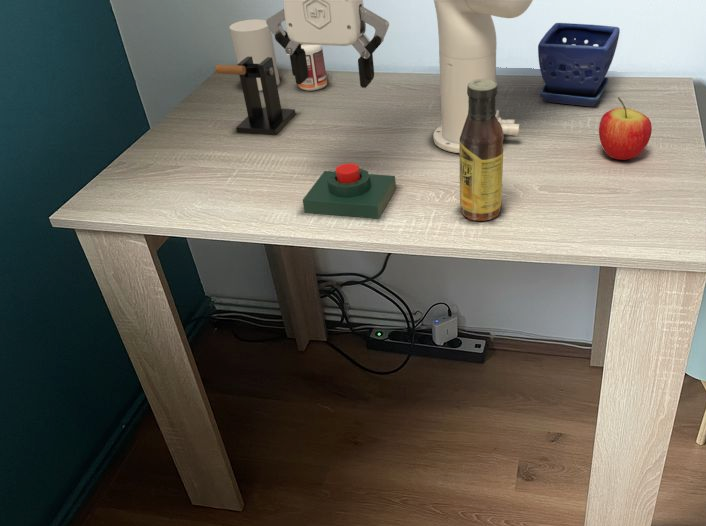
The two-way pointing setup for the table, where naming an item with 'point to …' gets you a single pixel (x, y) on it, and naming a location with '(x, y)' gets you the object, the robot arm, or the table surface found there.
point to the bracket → (258, 117)
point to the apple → (624, 132)
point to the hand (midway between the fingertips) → (334, 82)
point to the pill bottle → (314, 68)
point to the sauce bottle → (481, 154)
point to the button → (348, 173)
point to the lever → (239, 70)
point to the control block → (350, 195)
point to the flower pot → (576, 62)
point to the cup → (253, 43)
